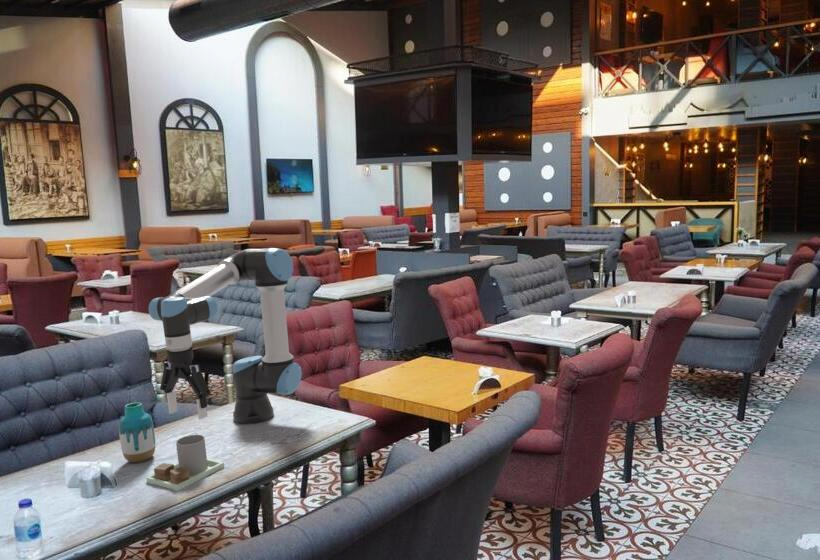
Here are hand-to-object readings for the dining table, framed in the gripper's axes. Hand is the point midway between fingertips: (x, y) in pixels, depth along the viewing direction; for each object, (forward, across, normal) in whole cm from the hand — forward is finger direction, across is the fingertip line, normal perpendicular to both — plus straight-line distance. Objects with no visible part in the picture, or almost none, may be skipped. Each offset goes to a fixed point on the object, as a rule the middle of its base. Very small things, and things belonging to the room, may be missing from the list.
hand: (188, 415), depth 206 cm
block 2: (+18, +4, -8) cm, 20 cm away
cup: (+18, 0, 0) cm, 18 cm away
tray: (+18, 0, -4) cm, 19 cm away
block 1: (+18, -3, -8) cm, 20 cm away
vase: (+19, -25, -2) cm, 31 cm away
